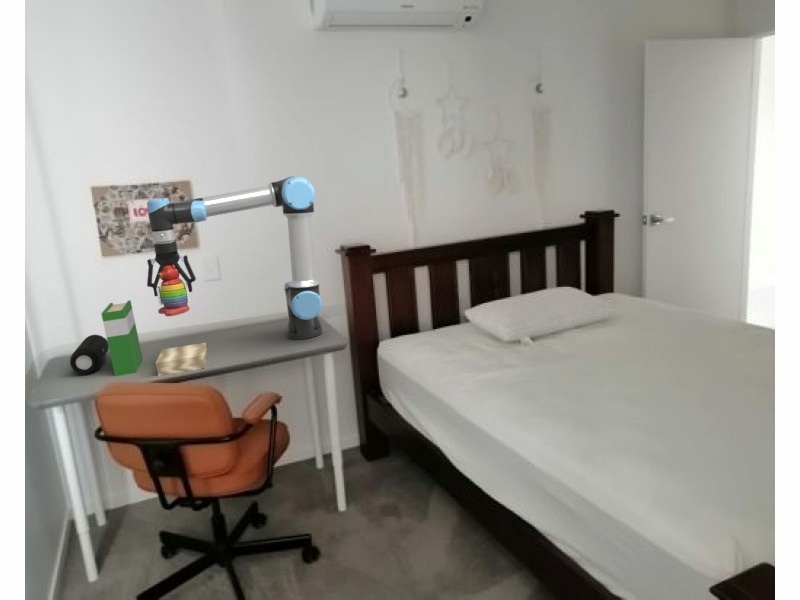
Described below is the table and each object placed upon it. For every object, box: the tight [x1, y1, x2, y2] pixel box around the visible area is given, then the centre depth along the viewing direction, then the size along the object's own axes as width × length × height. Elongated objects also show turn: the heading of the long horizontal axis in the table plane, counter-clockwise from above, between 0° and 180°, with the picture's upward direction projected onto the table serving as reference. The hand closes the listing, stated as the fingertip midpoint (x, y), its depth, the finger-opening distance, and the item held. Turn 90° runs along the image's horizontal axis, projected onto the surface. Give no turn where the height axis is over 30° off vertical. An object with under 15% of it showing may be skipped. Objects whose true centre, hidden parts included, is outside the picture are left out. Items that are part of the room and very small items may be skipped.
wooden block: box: [155, 342, 208, 377], centre depth 225 cm, size 16×17×5 cm
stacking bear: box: [158, 265, 190, 317], centre depth 219 cm, size 11×10×18 cm
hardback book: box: [100, 300, 143, 377], centre depth 227 cm, size 18×7×24 cm, turn 16°
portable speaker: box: [69, 334, 109, 375], centre depth 235 cm, size 26×10×10 cm, turn 16°
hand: (175, 302), depth 220 cm, fingers closed on stacking bear, 9 cm apart
